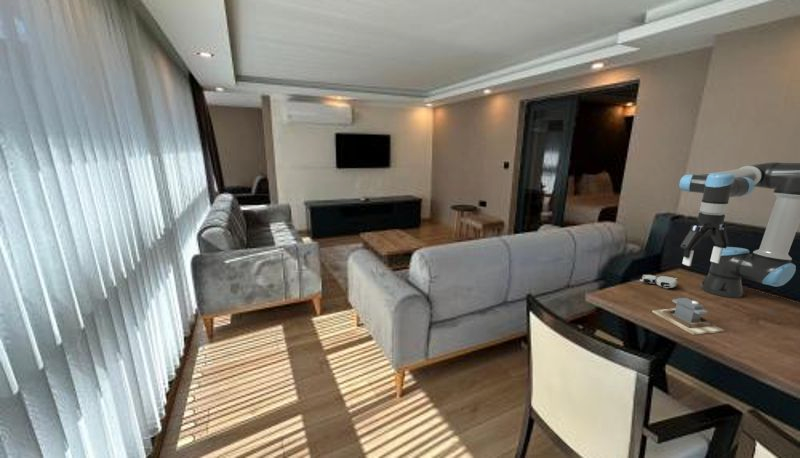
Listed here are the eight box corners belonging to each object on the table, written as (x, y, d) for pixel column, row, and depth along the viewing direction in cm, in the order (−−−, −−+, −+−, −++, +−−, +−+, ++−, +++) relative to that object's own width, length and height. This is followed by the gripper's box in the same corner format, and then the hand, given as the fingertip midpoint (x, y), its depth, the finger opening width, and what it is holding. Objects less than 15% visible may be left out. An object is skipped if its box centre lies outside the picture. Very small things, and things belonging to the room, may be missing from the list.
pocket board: (679, 309, 144) (680, 304, 143) (723, 331, 126) (725, 326, 126) (652, 312, 142) (653, 307, 141) (693, 334, 124) (694, 329, 124)
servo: (677, 312, 139) (681, 293, 137) (704, 325, 129) (709, 305, 127) (669, 313, 139) (673, 294, 137) (695, 326, 128) (700, 306, 126)
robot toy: (638, 285, 171) (674, 292, 160) (639, 277, 170) (675, 283, 159) (642, 279, 179) (677, 285, 169) (643, 271, 178) (678, 277, 168)
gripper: (727, 209, 130) (715, 258, 136) (675, 213, 127) (665, 262, 132) (749, 213, 123) (736, 264, 129) (695, 216, 120) (683, 269, 125)
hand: (700, 263), depth 130 cm, fingers open, 13 cm apart
